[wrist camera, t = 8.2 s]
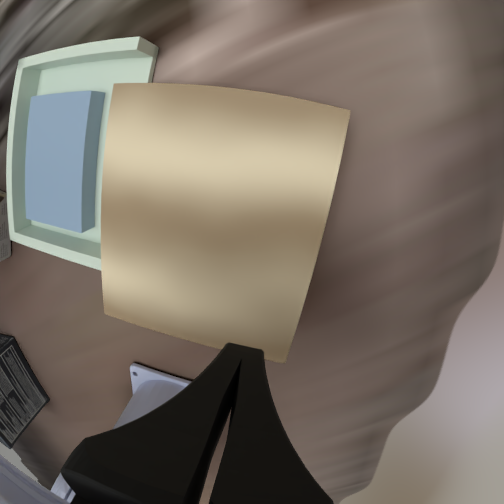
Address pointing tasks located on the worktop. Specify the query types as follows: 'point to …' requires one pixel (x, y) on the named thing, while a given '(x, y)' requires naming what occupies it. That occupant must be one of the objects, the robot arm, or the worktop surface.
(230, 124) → the tan flat block
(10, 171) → the tray
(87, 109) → the blue rectangular block
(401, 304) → the worktop surface
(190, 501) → the robot arm
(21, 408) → the small box
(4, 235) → the coffee box
